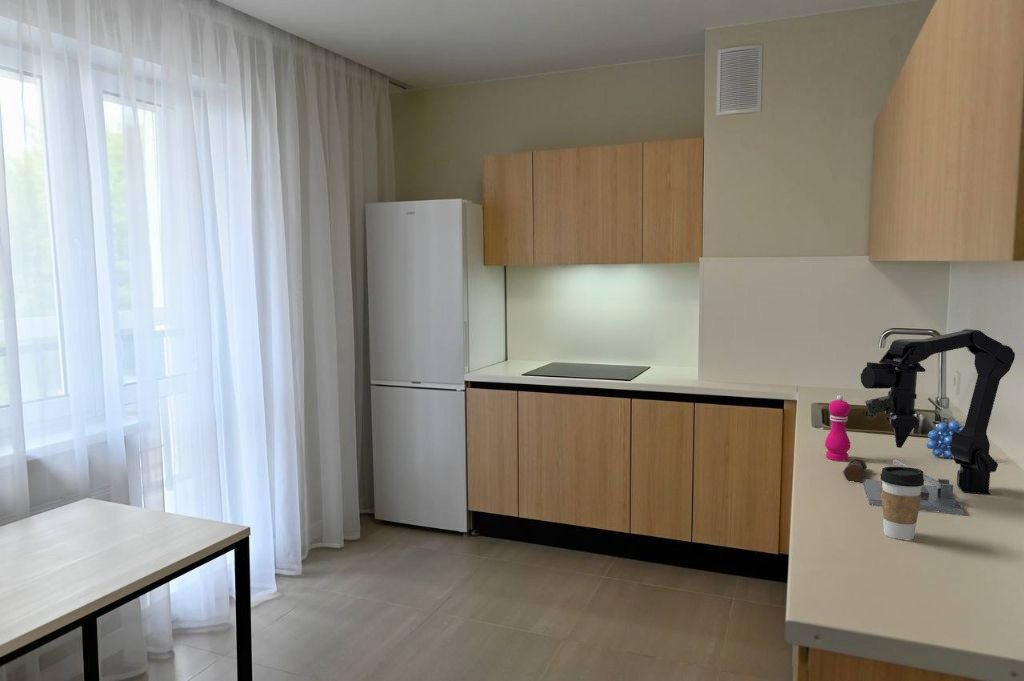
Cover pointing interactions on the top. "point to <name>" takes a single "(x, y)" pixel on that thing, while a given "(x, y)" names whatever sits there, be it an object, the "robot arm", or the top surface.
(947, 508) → the base
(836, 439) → the pepper mill
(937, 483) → the strap
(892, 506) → the coffee cup
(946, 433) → the grapes
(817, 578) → the top surface
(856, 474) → the bolt
